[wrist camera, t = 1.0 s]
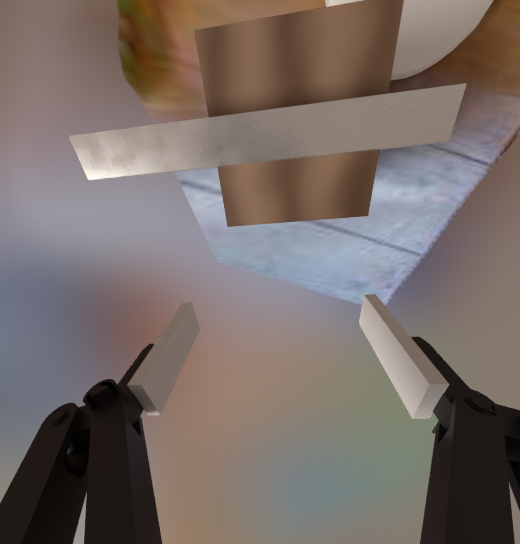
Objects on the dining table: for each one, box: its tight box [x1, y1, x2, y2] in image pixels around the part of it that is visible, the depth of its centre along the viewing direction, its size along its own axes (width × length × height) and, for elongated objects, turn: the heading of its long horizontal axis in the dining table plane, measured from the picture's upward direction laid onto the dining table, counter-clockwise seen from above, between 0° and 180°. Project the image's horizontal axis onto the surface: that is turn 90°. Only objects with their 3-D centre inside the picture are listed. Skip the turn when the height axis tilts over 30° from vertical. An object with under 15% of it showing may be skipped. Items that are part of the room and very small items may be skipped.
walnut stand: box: [194, 0, 404, 227], centre depth 31 cm, size 16×16×28 cm
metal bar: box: [69, 83, 467, 180], centre depth 18 cm, size 32×4×3 cm, turn 95°
